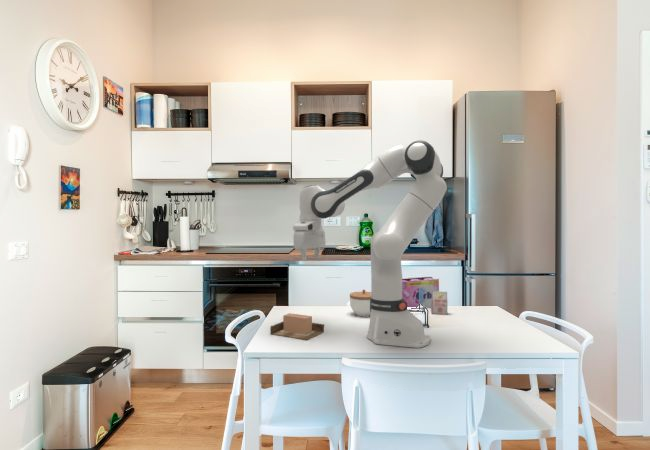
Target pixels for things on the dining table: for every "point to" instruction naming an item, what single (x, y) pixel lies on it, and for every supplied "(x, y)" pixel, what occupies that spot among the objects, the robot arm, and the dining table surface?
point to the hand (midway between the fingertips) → (310, 259)
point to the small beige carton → (439, 303)
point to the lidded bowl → (360, 303)
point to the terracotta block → (297, 323)
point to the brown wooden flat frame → (278, 330)
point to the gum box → (419, 290)
